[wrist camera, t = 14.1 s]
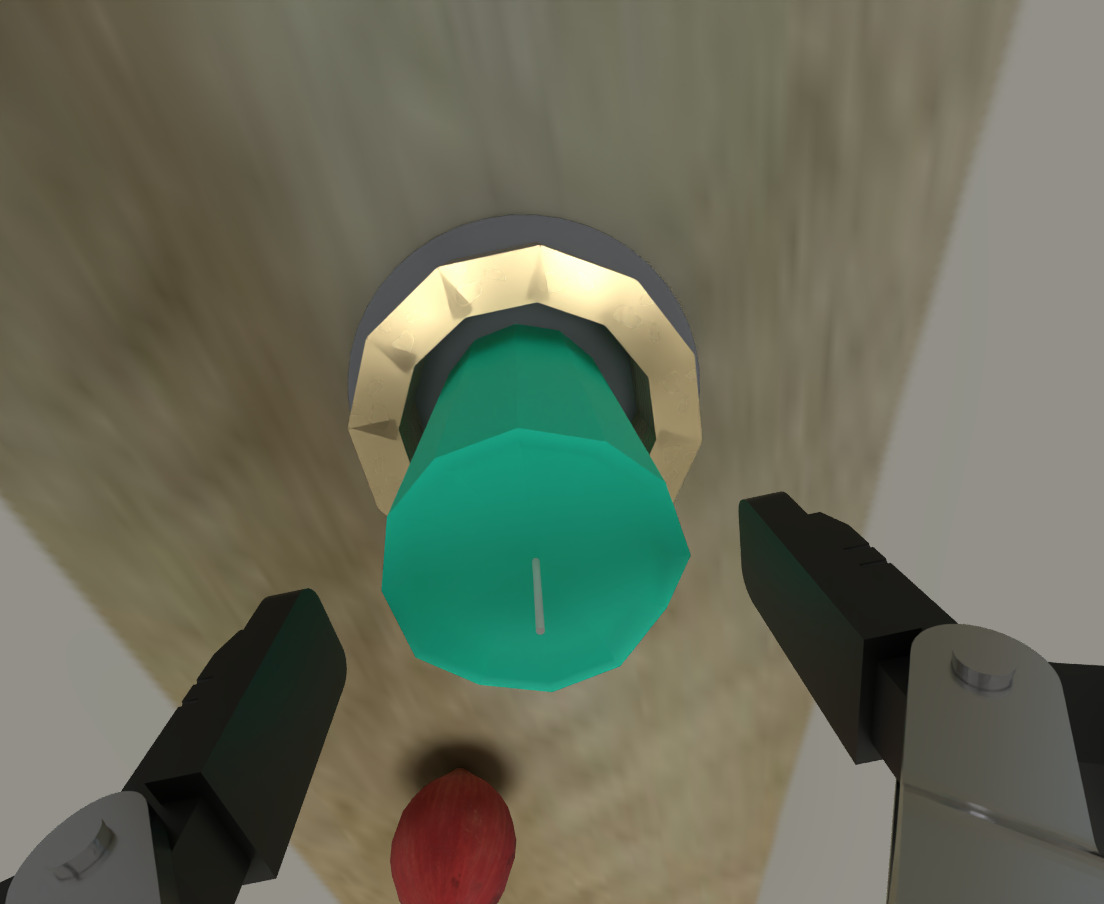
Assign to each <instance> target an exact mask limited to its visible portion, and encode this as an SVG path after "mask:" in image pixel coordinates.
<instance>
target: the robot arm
mask: <svg viewBox="0 0 1104 904" xmlns="http://www.w3.org/2000/svg"><path fill="white" fill-rule="evenodd" d="M739 528H740V546H741V564H742V573H743V578H744V582H745V585H746V589H747V591H748V594H749V596H750V598H751V600H752V602H753V604H754V605H755V607H756V608H757V610H758V612H759V613H760V615H761V616H762V618H763V619H764V621H765V623H766V624H767V626H768V627H769V629H770V631H771V632H772V634H773V635H774V637H775V638H776V640H777V642H778V643H779V645H780V646H781V648H782V649H783V651H784V653H785V654H786V656H787V657H788V659H789V660H790V662H791V664H792V665H793V667H794V668H795V670H796V671H797V673H798V675H799V676H800V678H801V679H802V681H803V683H804V684H805V686H806V687H807V689H808V690H809V692H810V694H811V695H812V697H813V698H814V700H815V701H816V703H817V705H818V706H819V708H820V709H821V711H822V712H823V714H824V715H825V717H826V719H827V720H828V722H829V723H830V725H831V727H832V728H833V730H834V731H835V733H836V734H837V736H838V737H839V739H840V741H841V742H842V744H843V746H844V747H845V749H846V750H847V752H848V753H849V755H850V756H851V758H852V760H853V761H854V763H855V764H856V765H857V764H862V763H867V762H872V761H877V760H882V759H883V760H884V761H885V763H886V764H887V766H888V767H889V769H890V770H891V771H892V773H893V774H894V776H895V777H896V784H895V795H894V808H893V820H892V833H891V846H890V859H889V872H888V886H887V899H886V904H1104V666H1098V665H1082V664H1064V663H1053V662H1047V661H1046V660H1045V659H1044V658H1043V657H1042V656H1041V655H1039V654H1038V653H1037V652H1036V651H1034V650H1033V649H1031V648H1030V647H1028V646H1027V645H1025V644H1023V643H1022V642H1020V641H1018V640H1016V639H1014V638H1012V637H1010V636H1007V635H1005V634H1003V633H999V632H997V631H994V630H991V629H987V628H983V627H979V626H973V625H965V624H958V623H957V622H956V621H955V620H953V619H952V618H951V617H950V616H949V615H948V614H947V613H946V612H945V611H943V610H942V609H941V608H940V607H939V606H938V605H937V604H936V603H935V602H934V601H932V600H931V599H930V598H929V597H928V596H927V595H926V594H925V593H924V592H922V591H921V590H920V589H919V588H918V587H917V586H916V585H915V584H913V583H912V582H911V581H910V580H909V579H908V578H907V577H906V576H905V575H903V574H902V573H901V572H900V571H899V570H898V569H897V568H896V567H895V566H894V565H892V564H891V563H887V561H886V558H885V557H884V556H883V555H881V554H880V553H879V552H878V551H877V550H876V549H875V548H873V547H870V546H869V543H868V542H867V541H866V540H865V539H864V538H863V537H861V536H860V535H859V534H858V533H857V532H856V531H855V530H854V529H853V528H852V527H850V526H849V525H848V524H845V523H843V522H841V521H839V520H837V519H834V518H832V517H830V516H828V515H826V514H823V513H821V512H818V513H813V514H807V513H806V512H805V511H804V510H803V509H802V508H801V507H800V506H799V505H798V504H797V503H796V502H795V501H794V500H793V499H792V498H791V497H790V496H789V495H788V494H787V493H785V492H777V493H772V494H767V495H762V496H757V497H752V498H748V499H743V500H741V501H740V503H739ZM346 673H347V666H346V657H345V653H344V650H343V648H342V645H341V643H340V641H339V639H338V637H337V635H336V633H335V631H334V628H333V626H332V624H331V622H330V620H329V618H328V616H327V614H326V611H325V609H324V607H323V605H322V603H321V601H320V599H319V597H318V595H317V594H316V592H314V591H313V590H312V589H309V588H307V589H302V590H297V591H292V592H287V593H283V594H278V595H273V596H268V597H266V598H265V599H263V601H262V602H261V603H260V605H259V606H258V608H257V609H256V611H255V612H254V614H253V616H252V617H251V619H250V620H249V622H248V623H247V625H246V626H245V628H244V629H243V630H240V631H239V632H237V633H236V634H235V635H234V636H233V637H232V638H231V639H230V640H229V641H228V642H227V643H226V644H224V645H223V646H222V647H221V648H220V649H219V650H218V651H217V652H216V653H215V654H214V655H213V656H212V658H211V659H210V661H209V662H208V664H207V665H206V667H205V668H204V670H203V671H202V673H201V674H200V676H199V677H198V679H197V684H196V685H193V686H192V687H191V689H190V690H189V692H188V693H187V695H186V696H185V698H184V699H183V701H182V703H183V704H182V706H181V707H178V708H177V710H176V711H175V712H174V714H173V715H172V717H171V718H170V720H169V721H168V723H167V724H166V726H165V727H164V729H163V730H162V732H161V733H160V735H159V736H158V738H157V739H156V741H155V742H154V744H153V745H152V746H151V748H150V749H149V751H148V752H147V754H146V755H145V757H144V759H143V760H142V761H141V763H140V764H139V766H138V767H137V769H136V770H135V772H134V773H133V775H132V776H131V778H130V779H129V780H128V782H127V783H126V785H125V786H124V788H123V789H122V791H121V792H118V793H114V794H111V795H108V796H105V797H103V798H101V799H98V800H96V801H95V802H92V803H90V804H89V805H87V806H85V807H84V808H82V809H80V810H79V811H77V812H76V813H74V814H73V815H71V816H70V817H69V818H67V819H66V820H65V821H64V822H62V823H61V824H60V825H58V826H57V827H56V828H55V829H54V830H53V831H52V832H51V833H49V834H48V835H47V836H46V837H45V838H44V839H43V840H42V841H41V842H40V843H39V844H38V845H37V846H36V848H35V849H34V850H33V851H32V852H31V853H30V855H29V856H28V857H27V858H26V860H25V861H24V862H23V864H22V865H21V867H20V868H19V870H18V871H17V873H16V874H15V876H13V877H11V878H9V879H6V880H4V881H2V882H0V904H235V901H236V899H237V896H238V894H239V891H240V889H241V886H242V885H246V884H251V883H256V882H261V881H266V880H271V879H276V878H277V875H278V872H279V869H280V866H281V863H282V860H283V858H284V855H285V852H286V849H287V846H288V844H289V841H290V838H291V835H292V832H293V829H294V827H295V824H296V821H297V818H298V815H299V812H300V810H301V807H302V804H303V801H304V798H305V795H306V793H307V790H308V787H309V784H310V781H311V778H312V776H313V773H314V770H315V767H316V764H317V761H318V759H319V756H320V753H321V750H322V747H323V744H324V742H325V739H326V736H327V733H328V730H329V727H330V725H331V722H332V719H333V716H334V713H335V710H336V708H337V705H338V702H339V699H340V696H341V693H342V691H343V688H344V685H345V681H346Z"/></svg>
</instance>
